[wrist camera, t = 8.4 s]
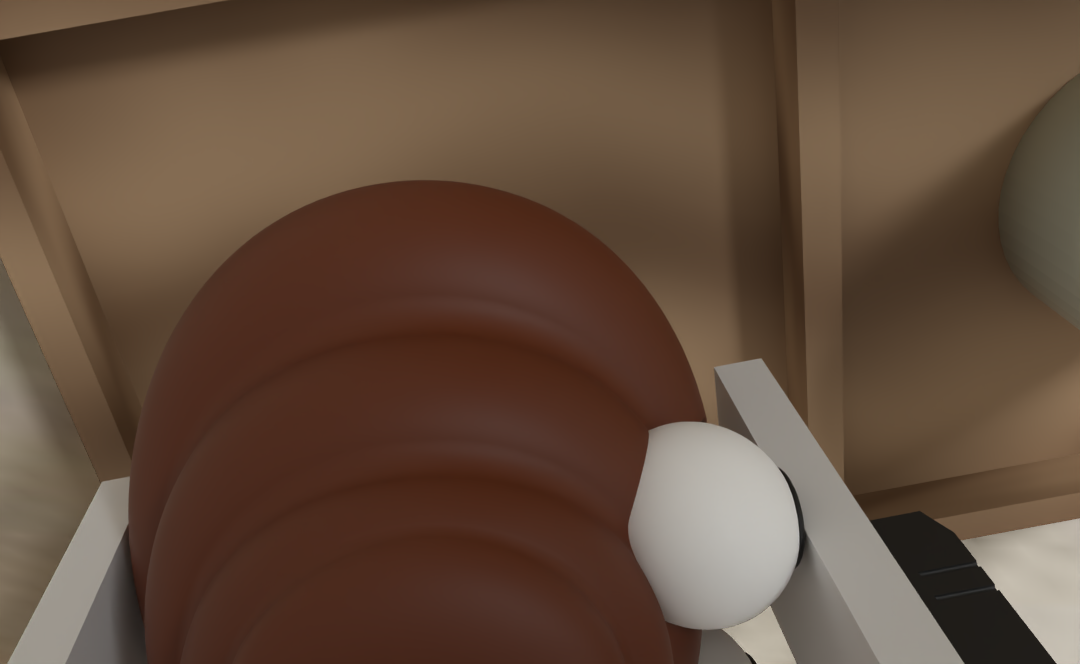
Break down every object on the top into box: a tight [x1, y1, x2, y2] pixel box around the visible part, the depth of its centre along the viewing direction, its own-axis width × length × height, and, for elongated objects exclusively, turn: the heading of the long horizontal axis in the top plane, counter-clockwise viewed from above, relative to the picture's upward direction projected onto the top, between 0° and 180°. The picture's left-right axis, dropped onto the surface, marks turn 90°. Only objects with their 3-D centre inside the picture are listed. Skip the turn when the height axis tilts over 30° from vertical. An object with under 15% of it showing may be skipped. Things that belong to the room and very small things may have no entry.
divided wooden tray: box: [0, 0, 1080, 540], centre depth 21 cm, size 16×31×2 cm, turn 99°
